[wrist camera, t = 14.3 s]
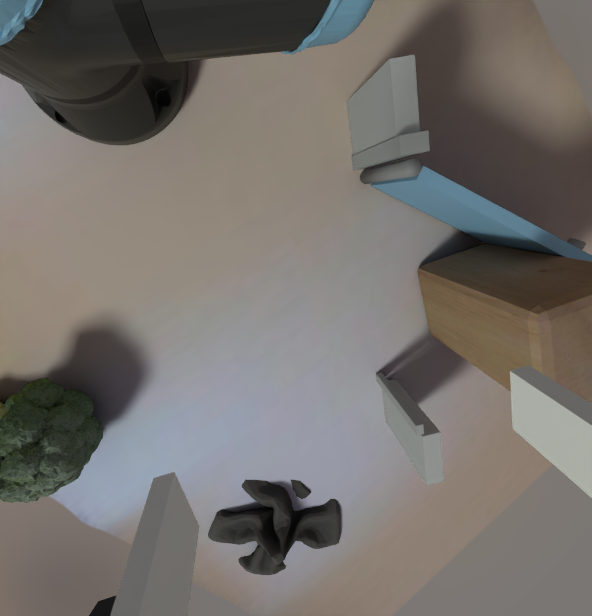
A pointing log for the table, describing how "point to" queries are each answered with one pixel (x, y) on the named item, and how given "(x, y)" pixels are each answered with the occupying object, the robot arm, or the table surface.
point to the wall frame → (375, 151)
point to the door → (466, 209)
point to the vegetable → (44, 440)
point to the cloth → (276, 526)
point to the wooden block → (514, 312)
